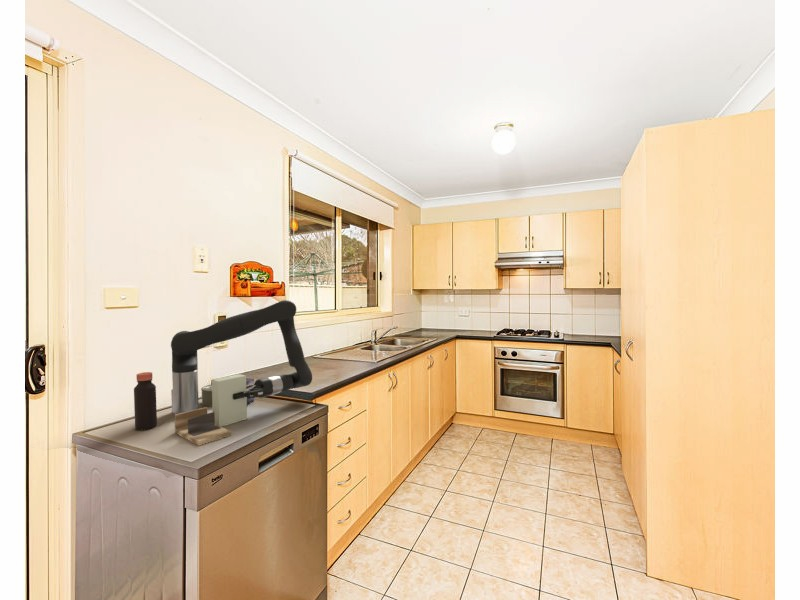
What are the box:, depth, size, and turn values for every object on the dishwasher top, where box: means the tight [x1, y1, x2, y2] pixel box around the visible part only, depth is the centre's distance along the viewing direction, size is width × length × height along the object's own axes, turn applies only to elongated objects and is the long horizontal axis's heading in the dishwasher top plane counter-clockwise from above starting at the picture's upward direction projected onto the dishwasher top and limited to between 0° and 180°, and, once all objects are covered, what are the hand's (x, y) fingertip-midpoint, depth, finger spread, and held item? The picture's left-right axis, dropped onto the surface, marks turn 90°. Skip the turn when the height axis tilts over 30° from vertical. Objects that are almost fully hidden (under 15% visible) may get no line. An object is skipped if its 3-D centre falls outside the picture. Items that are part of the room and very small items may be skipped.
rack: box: [174, 406, 232, 446], centre depth 139 cm, size 18×11×6 cm, turn 51°
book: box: [211, 373, 248, 427], centre depth 151 cm, size 5×11×17 cm, turn 141°
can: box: [201, 384, 212, 407], centre depth 176 cm, size 12×12×7 cm
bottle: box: [133, 371, 158, 431], centre depth 145 cm, size 7×7×20 cm
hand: (229, 395), depth 151 cm, fingers closed on book, 5 cm apart
